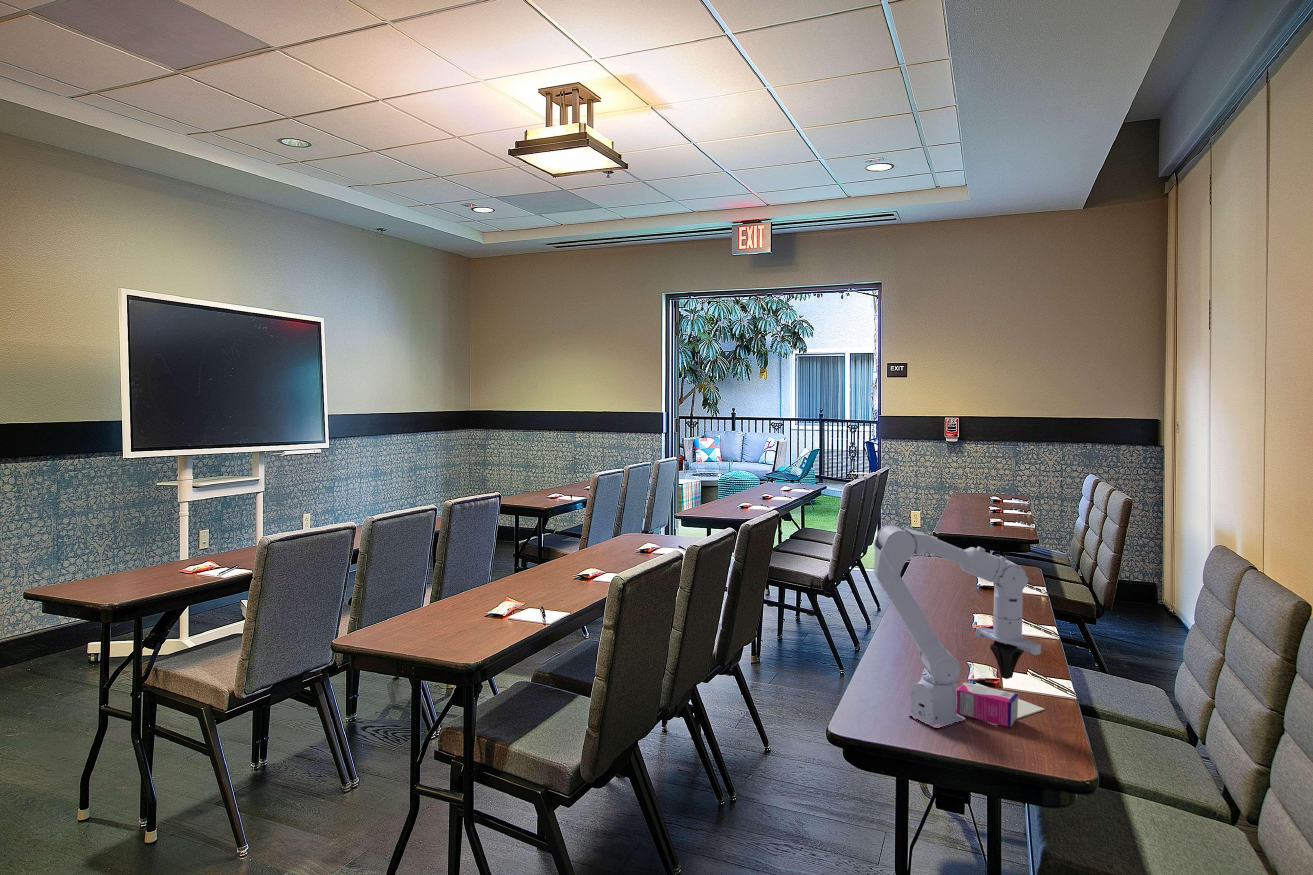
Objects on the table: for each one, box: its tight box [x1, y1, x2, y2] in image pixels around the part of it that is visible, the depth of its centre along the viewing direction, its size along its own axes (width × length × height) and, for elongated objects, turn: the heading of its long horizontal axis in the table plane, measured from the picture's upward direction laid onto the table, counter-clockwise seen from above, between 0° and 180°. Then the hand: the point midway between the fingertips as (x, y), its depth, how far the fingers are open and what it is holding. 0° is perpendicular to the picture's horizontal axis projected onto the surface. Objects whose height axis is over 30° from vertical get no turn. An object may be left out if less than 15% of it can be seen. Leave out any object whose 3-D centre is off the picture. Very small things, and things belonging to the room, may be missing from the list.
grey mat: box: [974, 682, 1045, 727], centre depth 173 cm, size 17×18×1 cm
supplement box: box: [956, 681, 1019, 728], centre depth 165 cm, size 6×6×12 cm
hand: (1006, 677), depth 164 cm, fingers closed
